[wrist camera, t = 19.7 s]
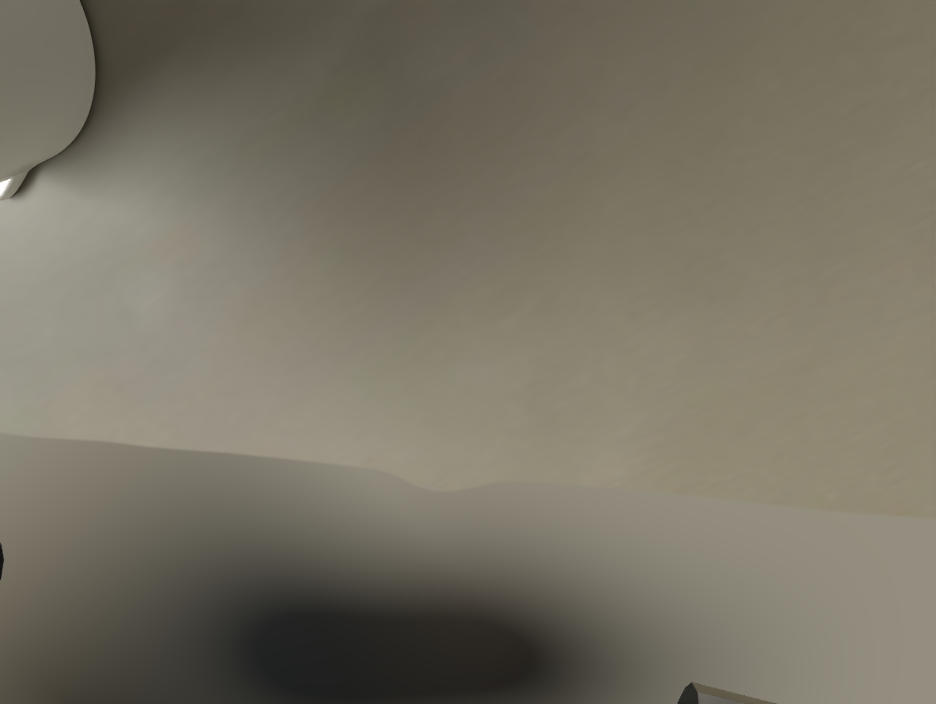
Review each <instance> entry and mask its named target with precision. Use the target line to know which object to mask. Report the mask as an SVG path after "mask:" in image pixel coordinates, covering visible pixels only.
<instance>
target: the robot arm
mask: <svg viewBox="0 0 936 704" xmlns="http://www.w3.org/2000/svg"><path fill="white" fill-rule="evenodd" d="M94 87H95V57H94V49H93V43H92V38H91V34H90V29H89V26H88V22H87V19H86V16H85V13H84V10H83V8H82V5H81V3H80V0H0V201H1V200H4V199H8V198H10V197H11V196H12V195H14V193H15V192H16V191H17V190H18V188H19V187H20V185H21V184H22V182H23V180H24V179H25V177H26V175H27V173H28V171H29V170H30V169H32V168H33V167H34V166H36V165H38V164H39V163H41V162H43V161H45V160H47V159H49V158H51V157H53V156H55V155H57V154H58V153H60V152H61V151H62V150H64V149H65V148H66V147H67V146H68V145H69V144H70V143H71V142H72V141H73V140H74V139H75V138H76V136H77V135H78V133H79V132H80V130H81V129H82V127H83V125H84V123H85V121H86V119H87V117H88V114H89V111H90V108H91V104H92V100H93V95H94ZM3 564H4V556H3V550H2V545H1V543H0V580H1V577H2V569H3ZM677 704H776V703H772V702H768V701H764V700H760V699H756V698H752V697H748V696H745V695H740V694H737V693H733V692H729V691H725V690H721V689H717V688H713V687H710V686H706V685H702V684H698V683H694V682H691V683H690V684H688V685H687V686H686V687H685V688H684V690H683V692H682V694H681V696H680V698H679V700H678V702H677Z"/></svg>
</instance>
